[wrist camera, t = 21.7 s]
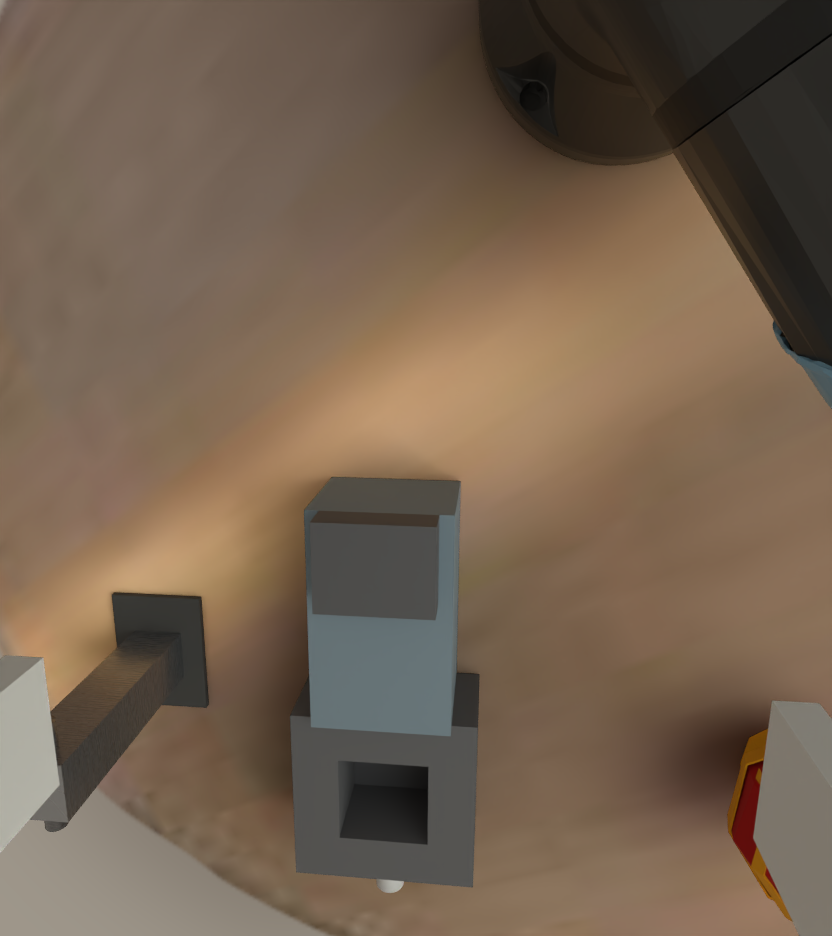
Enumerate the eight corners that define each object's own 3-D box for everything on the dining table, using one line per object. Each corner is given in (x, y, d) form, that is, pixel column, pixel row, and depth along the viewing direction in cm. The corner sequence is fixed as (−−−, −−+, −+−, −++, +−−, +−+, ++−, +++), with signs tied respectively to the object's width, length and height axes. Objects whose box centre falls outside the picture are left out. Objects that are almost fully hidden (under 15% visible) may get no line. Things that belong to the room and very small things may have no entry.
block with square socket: (308, 476, 46) (265, 520, 37) (485, 481, 44) (483, 529, 36) (319, 842, 52) (284, 953, 43) (474, 854, 51) (470, 971, 42)
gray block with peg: (140, 691, 50) (10, 841, 37) (133, 611, 49) (-6, 735, 35) (185, 694, 50) (71, 846, 36) (179, 613, 48) (57, 740, 35)
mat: (114, 592, 49) (111, 594, 48) (201, 596, 48) (198, 599, 48) (125, 699, 51) (122, 702, 50) (208, 704, 50) (206, 707, 50)
